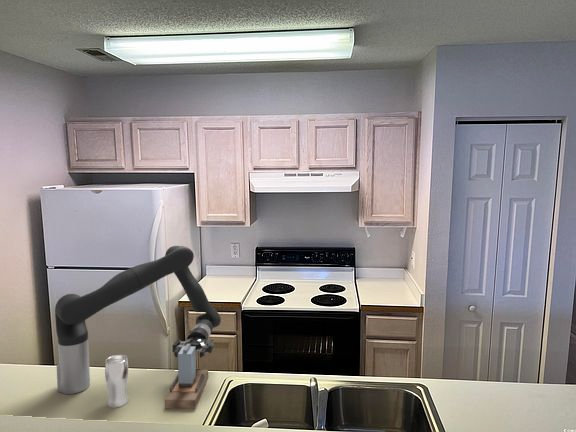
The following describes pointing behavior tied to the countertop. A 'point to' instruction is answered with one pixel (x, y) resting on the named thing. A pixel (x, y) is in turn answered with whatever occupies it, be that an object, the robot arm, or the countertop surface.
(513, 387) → the countertop surface
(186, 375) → the blue rectangular block
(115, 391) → the beer glass
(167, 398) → the dock
